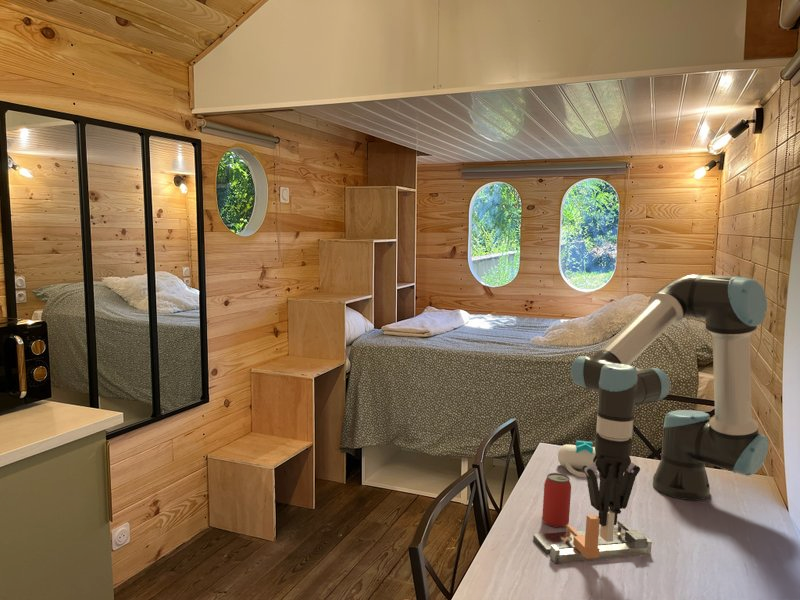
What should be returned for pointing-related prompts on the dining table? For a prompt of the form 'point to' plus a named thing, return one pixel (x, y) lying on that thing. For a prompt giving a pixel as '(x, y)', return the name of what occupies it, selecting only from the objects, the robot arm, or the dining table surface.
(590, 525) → the block
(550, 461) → the dining table surface
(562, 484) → the beer can
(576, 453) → the mug
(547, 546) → the hole plate
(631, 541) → the beam
